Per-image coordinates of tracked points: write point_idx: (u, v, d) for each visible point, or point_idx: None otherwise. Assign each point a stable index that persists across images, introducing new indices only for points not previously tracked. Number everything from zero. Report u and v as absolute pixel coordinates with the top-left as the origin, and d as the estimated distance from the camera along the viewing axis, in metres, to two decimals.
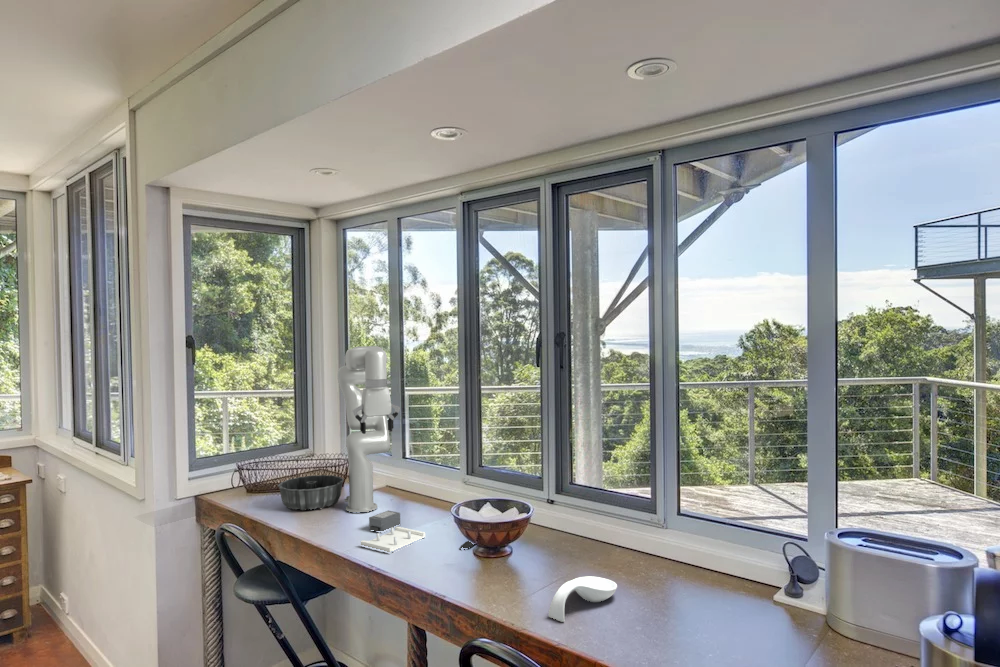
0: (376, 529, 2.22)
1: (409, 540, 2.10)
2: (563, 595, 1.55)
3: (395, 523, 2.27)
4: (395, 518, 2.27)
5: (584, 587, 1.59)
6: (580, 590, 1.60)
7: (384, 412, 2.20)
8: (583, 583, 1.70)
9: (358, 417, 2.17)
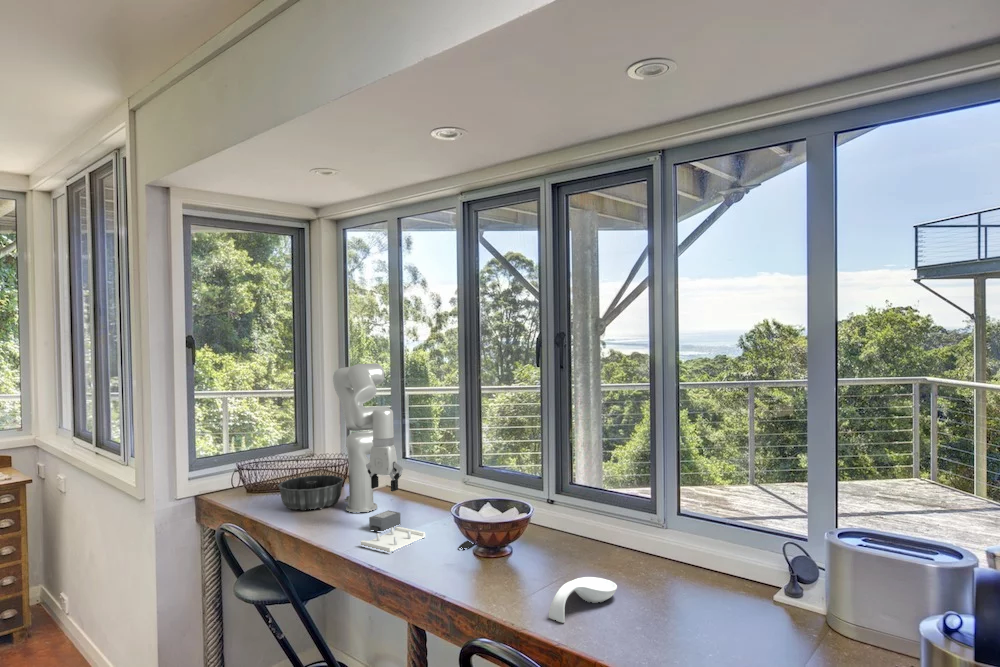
0: (376, 529, 2.22)
1: (409, 540, 2.10)
2: (563, 596, 1.54)
3: (395, 523, 2.27)
4: (395, 518, 2.28)
5: (584, 588, 1.58)
6: (580, 591, 1.59)
7: None
8: (583, 584, 1.70)
9: None
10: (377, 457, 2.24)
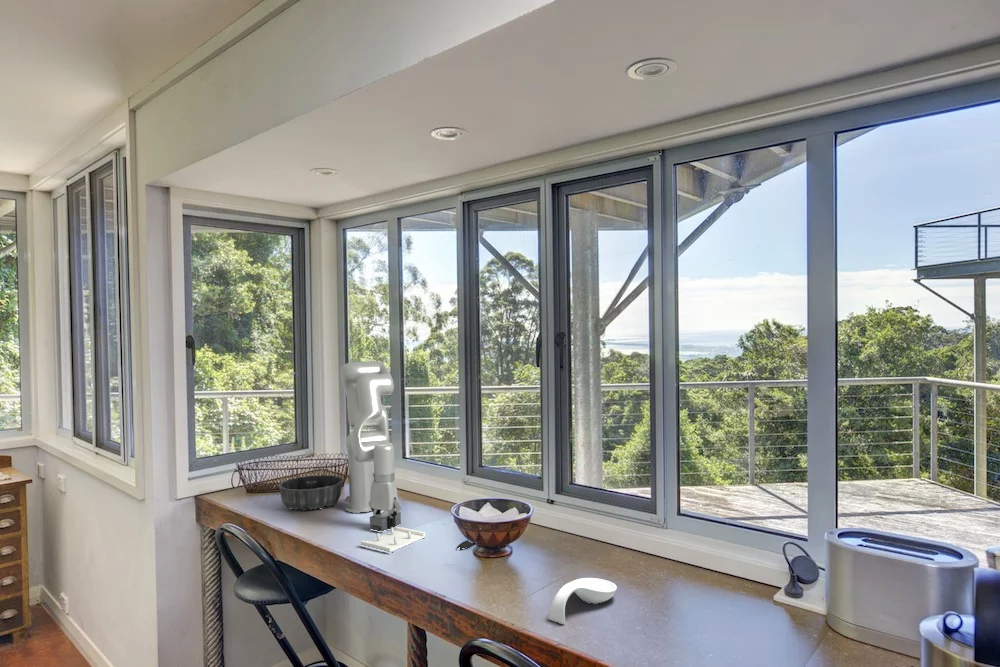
0: (377, 528, 2.22)
1: (409, 540, 2.10)
2: (563, 597, 1.54)
3: (395, 522, 2.27)
4: (396, 517, 2.28)
5: (584, 589, 1.58)
6: (580, 592, 1.59)
7: None
8: (582, 585, 1.69)
9: None
10: (378, 493, 2.25)
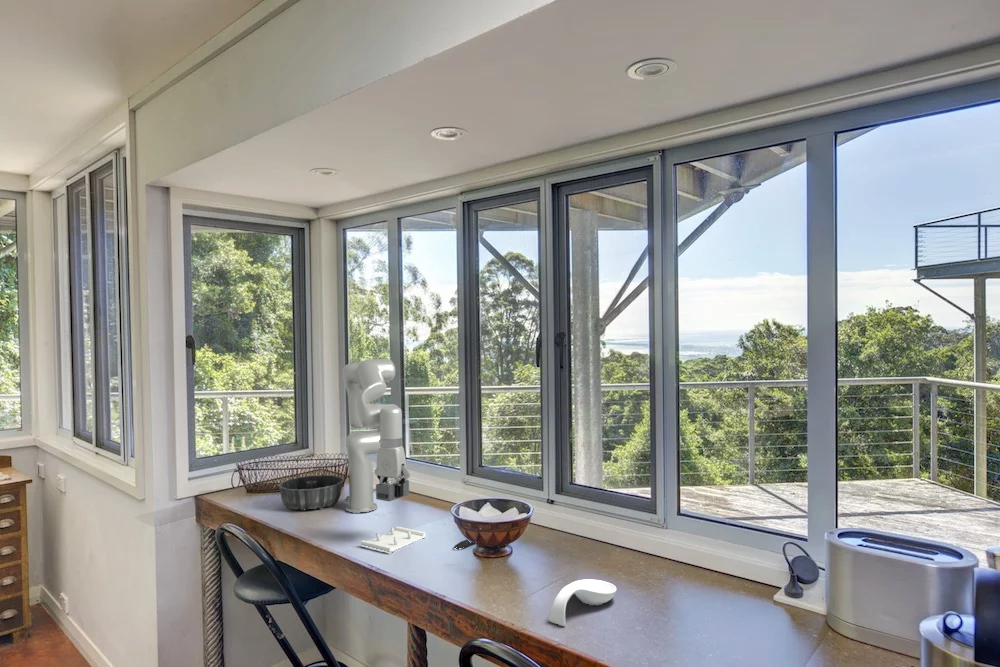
0: (384, 496, 2.07)
1: (409, 540, 2.10)
2: (564, 599, 1.52)
3: (403, 491, 2.13)
4: (404, 485, 2.13)
5: (584, 590, 1.57)
6: (580, 593, 1.58)
7: None
8: (582, 586, 1.68)
9: None
10: (384, 459, 2.10)
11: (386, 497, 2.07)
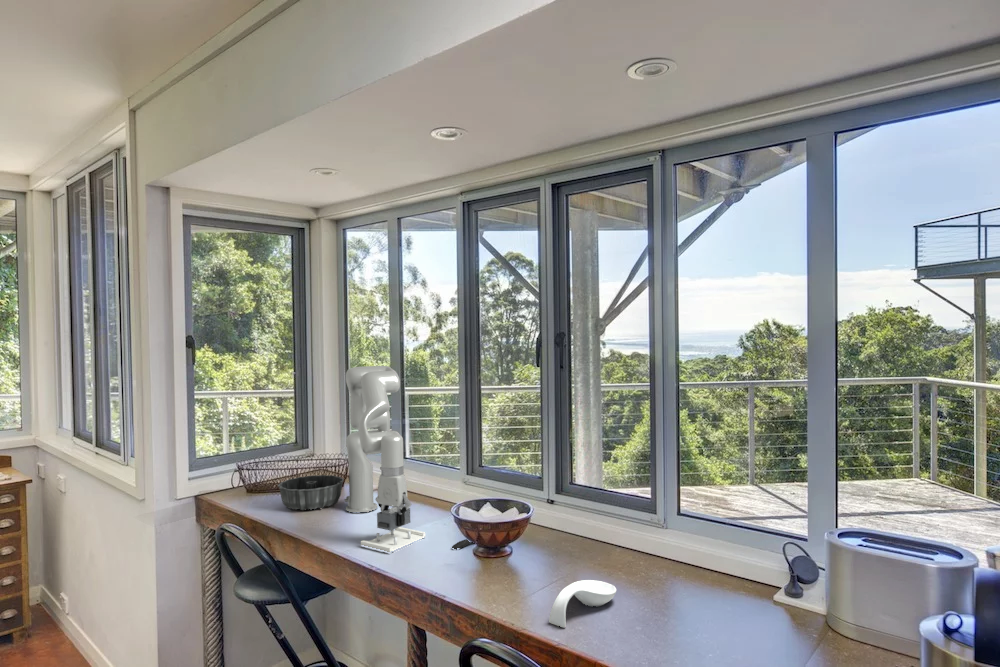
0: (385, 525, 2.06)
1: (409, 540, 2.10)
2: (564, 600, 1.52)
3: None
4: (405, 513, 2.12)
5: (584, 591, 1.56)
6: (580, 594, 1.57)
7: None
8: (581, 587, 1.67)
9: None
10: (386, 487, 2.09)
11: (387, 526, 2.06)
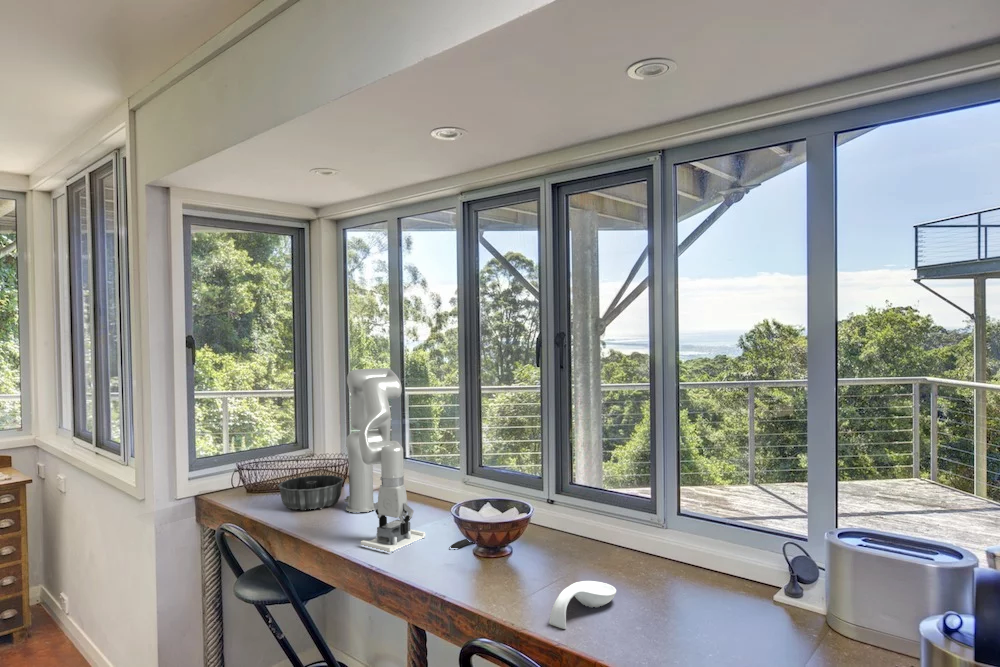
0: (385, 540, 2.06)
1: (409, 540, 2.10)
2: (564, 601, 1.51)
3: None
4: None
5: (584, 592, 1.55)
6: (580, 595, 1.56)
7: None
8: (581, 588, 1.67)
9: None
10: (386, 498, 2.09)
11: (387, 541, 2.06)
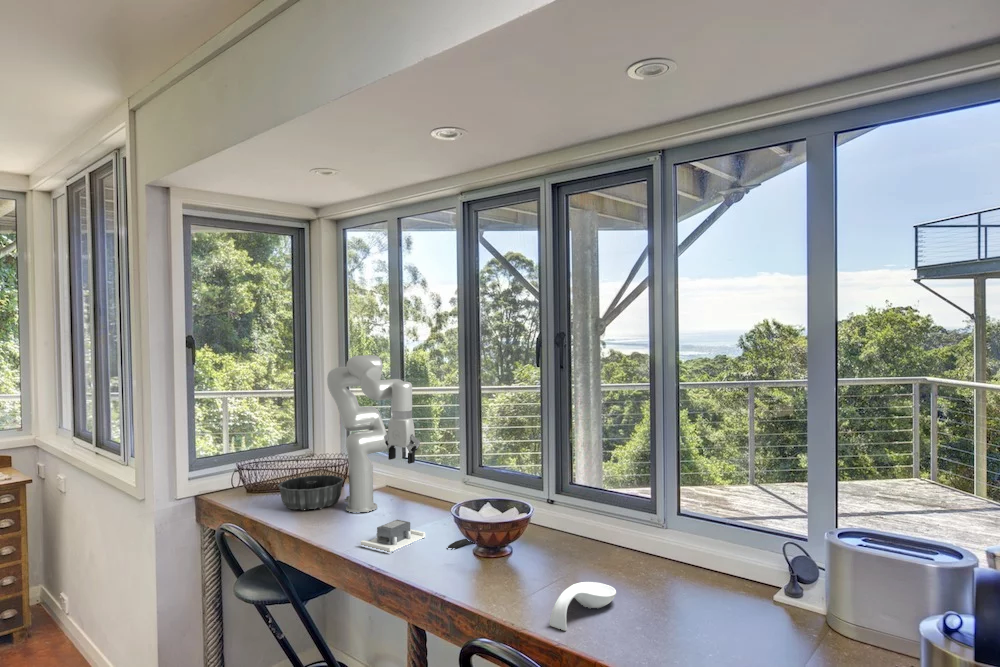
0: (385, 540, 2.06)
1: (409, 540, 2.10)
2: (564, 603, 1.50)
3: (404, 533, 2.12)
4: (405, 527, 2.12)
5: (585, 594, 1.55)
6: (580, 597, 1.56)
7: None
8: (581, 589, 1.66)
9: None
10: (395, 429, 2.27)
11: (387, 541, 2.06)
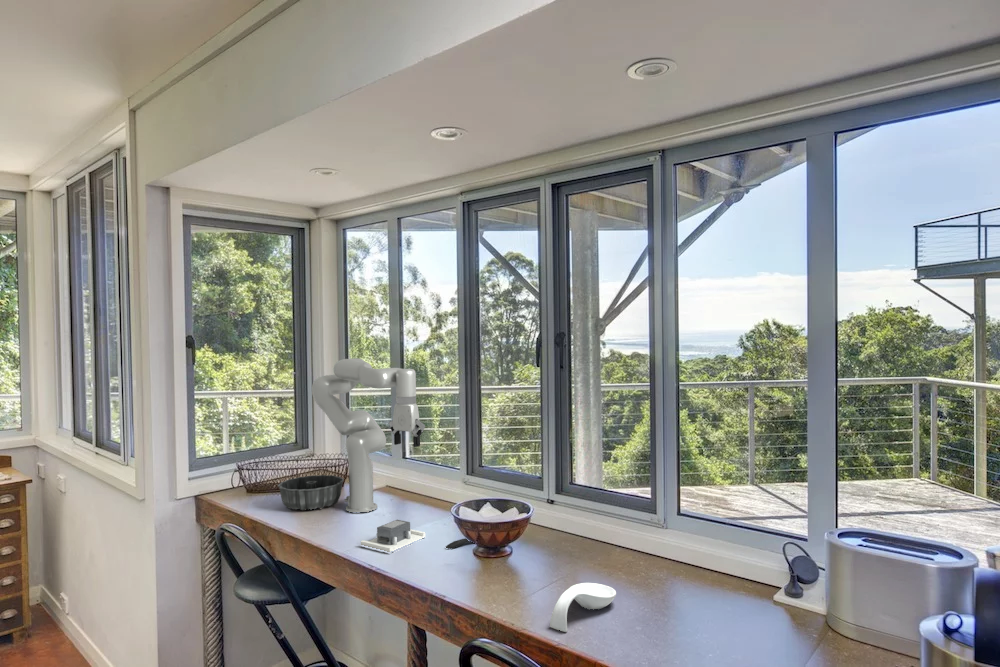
0: (385, 540, 2.06)
1: (409, 540, 2.10)
2: (565, 604, 1.50)
3: (404, 533, 2.12)
4: (405, 527, 2.12)
5: (585, 595, 1.54)
6: (580, 598, 1.55)
7: None
8: (580, 590, 1.66)
9: None
10: (400, 414, 2.35)
11: (387, 541, 2.06)
